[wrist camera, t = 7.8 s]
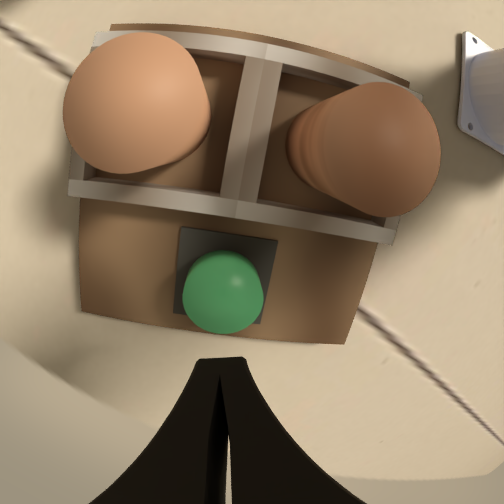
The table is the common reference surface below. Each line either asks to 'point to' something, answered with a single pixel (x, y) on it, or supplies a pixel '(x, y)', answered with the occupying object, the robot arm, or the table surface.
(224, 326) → the button
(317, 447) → the table surface
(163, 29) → the wooden peg sorting tray
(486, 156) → the table surface
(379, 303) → the table surface
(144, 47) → the tan rounded peg
